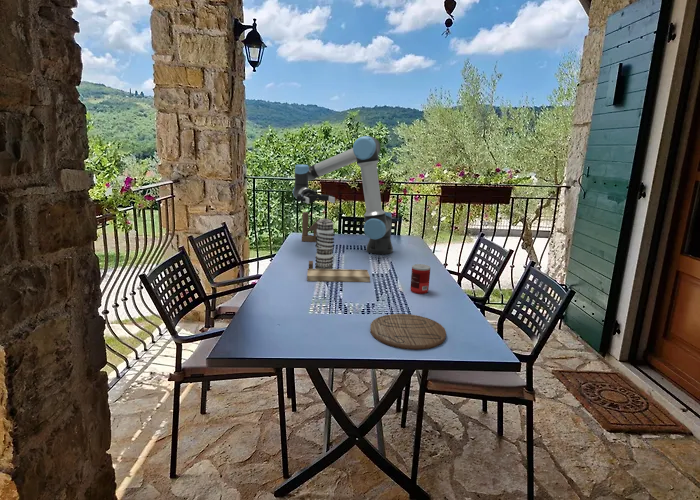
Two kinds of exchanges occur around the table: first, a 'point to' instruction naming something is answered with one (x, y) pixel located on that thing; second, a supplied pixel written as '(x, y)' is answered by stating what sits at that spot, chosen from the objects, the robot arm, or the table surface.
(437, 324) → the trivet
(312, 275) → the oak board
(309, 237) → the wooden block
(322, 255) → the decorative candle
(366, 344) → the table surface
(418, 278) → the canned food
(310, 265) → the brown flat block
